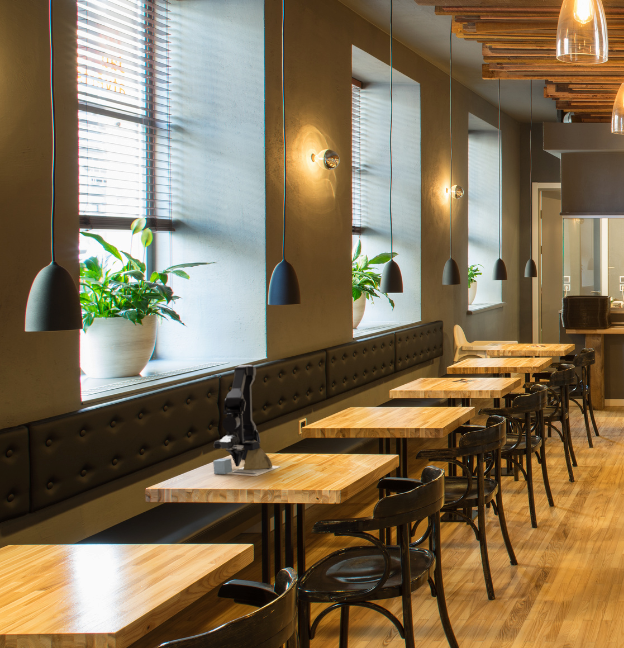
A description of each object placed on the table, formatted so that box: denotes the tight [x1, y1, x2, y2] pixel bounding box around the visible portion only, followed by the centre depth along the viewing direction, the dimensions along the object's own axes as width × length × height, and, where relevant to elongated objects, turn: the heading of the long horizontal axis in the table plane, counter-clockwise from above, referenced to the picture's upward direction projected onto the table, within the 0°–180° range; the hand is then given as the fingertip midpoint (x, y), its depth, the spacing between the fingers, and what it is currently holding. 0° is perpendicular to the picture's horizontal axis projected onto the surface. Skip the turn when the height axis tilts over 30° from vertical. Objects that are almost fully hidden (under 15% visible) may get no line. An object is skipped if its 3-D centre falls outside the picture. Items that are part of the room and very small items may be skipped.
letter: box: [225, 465, 282, 477], centre depth 317 cm, size 18×14×1 cm
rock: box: [243, 446, 273, 470], centre depth 318 cm, size 11×9×10 cm
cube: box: [213, 458, 233, 475], centre depth 314 cm, size 5×5×5 cm
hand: (237, 466), depth 320 cm, fingers closed
